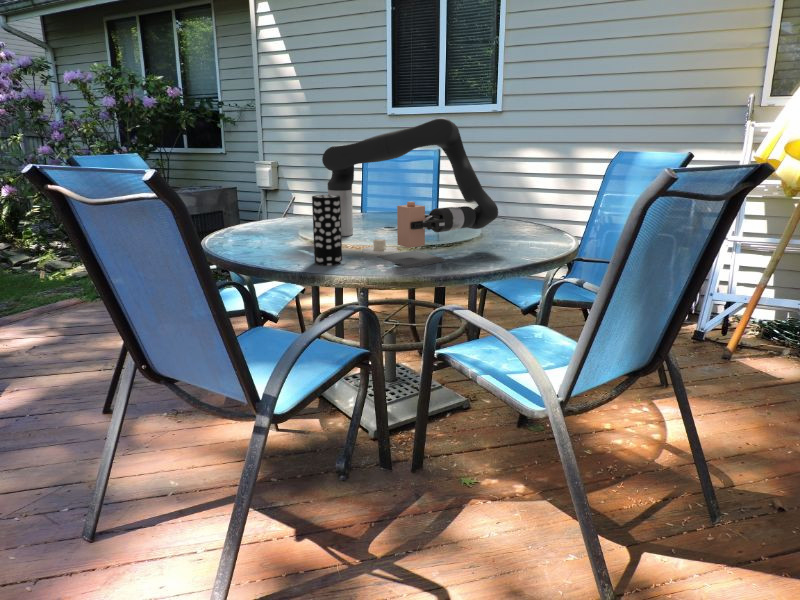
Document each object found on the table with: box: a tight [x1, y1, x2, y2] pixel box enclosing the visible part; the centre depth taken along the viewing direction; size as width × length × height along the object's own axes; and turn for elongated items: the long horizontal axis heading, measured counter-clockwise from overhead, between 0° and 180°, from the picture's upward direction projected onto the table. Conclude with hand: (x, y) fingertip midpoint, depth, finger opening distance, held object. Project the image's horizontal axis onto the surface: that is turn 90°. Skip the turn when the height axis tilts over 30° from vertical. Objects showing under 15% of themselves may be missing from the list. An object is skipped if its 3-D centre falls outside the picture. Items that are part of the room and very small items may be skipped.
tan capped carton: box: [396, 201, 426, 249], centre depth 171 cm, size 6×6×13 cm
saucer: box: [361, 238, 399, 255], centre depth 185 cm, size 12×12×4 cm
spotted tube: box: [311, 194, 343, 267], centre depth 168 cm, size 8×8×20 cm
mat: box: [376, 250, 445, 269], centre depth 174 cm, size 15×15×1 cm
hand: (404, 224), depth 170 cm, fingers closed on tan capped carton, 6 cm apart
